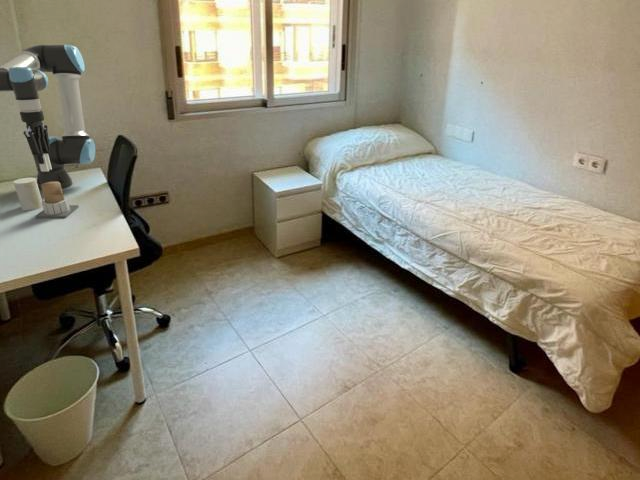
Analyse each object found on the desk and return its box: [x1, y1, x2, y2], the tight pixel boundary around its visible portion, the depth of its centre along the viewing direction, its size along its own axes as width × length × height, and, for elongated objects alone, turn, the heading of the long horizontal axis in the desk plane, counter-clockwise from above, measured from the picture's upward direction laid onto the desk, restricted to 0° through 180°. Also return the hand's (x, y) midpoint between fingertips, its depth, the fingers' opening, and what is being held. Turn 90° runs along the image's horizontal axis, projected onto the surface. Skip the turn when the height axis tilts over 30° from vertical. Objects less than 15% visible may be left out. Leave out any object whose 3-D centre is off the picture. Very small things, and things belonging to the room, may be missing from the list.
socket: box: [35, 196, 80, 219], centre depth 184 cm, size 12×12×6 cm
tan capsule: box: [41, 182, 65, 203], centre depth 182 cm, size 7×7×11 cm
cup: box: [13, 177, 43, 211], centre depth 188 cm, size 8×8×12 cm
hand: (46, 170), depth 177 cm, fingers open, 2 cm apart
